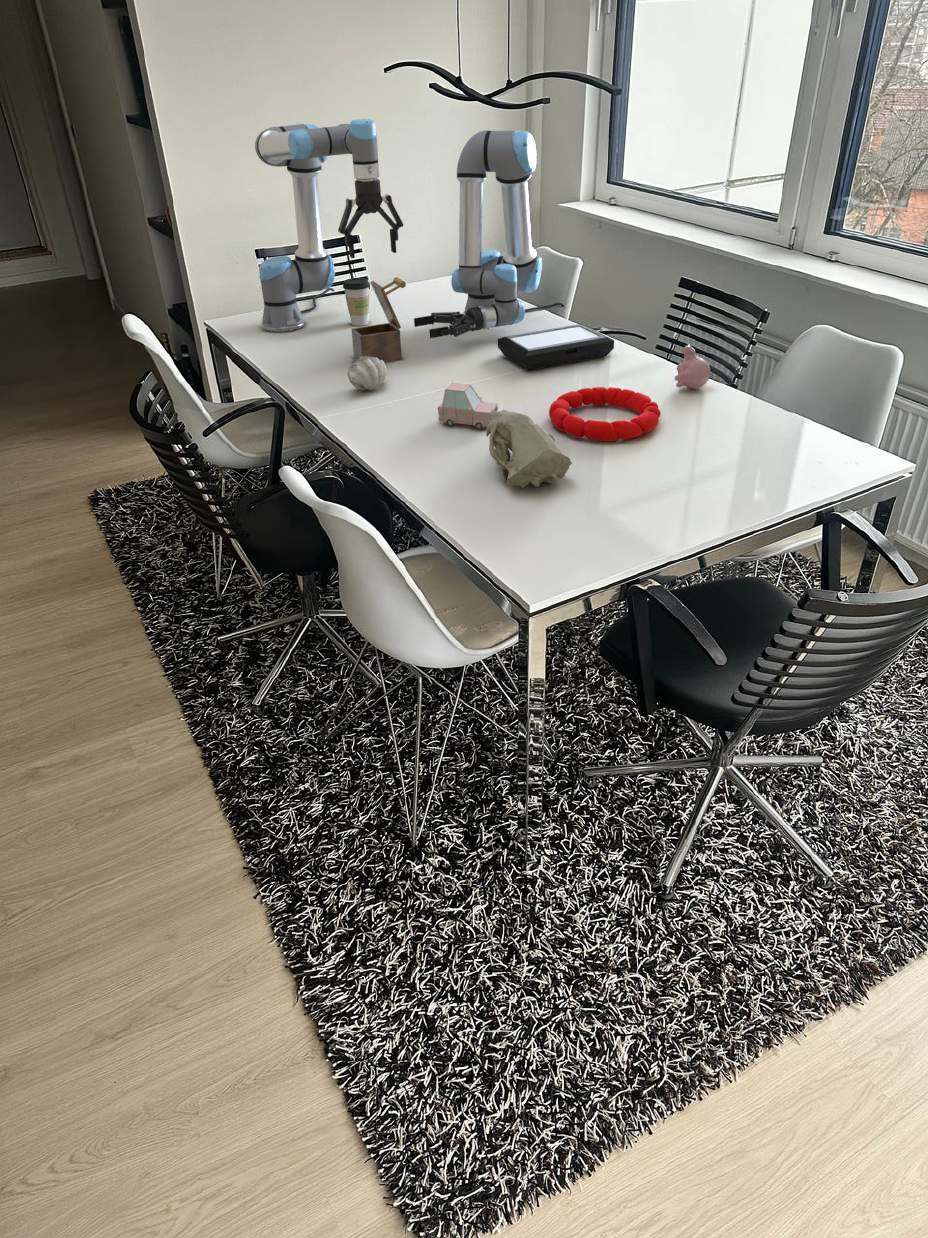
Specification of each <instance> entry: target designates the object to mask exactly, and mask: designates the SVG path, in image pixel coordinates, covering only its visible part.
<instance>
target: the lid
mask: <svg viewBox="0 0 928 1238" xmlns="http://www.w3.org/2000/svg"><path fill="white" fill-rule="evenodd" d="M369 283H370V286H371V287H372V289H373V291H374V293H375V295H376V298H377V300H378V302H379V304H380V306H381V309H382V311H383V313H384V315H385V318H386V320H387V323H391V324H392V325H393V326H395V327H396V328H397V329H399V330H400V329H401V328H402V326H401V323H400V322H399V320H398V317H397V315H396V313H395V311H394V308H393V306H392V304H391V301H390V300H389V298H388V295H389V294H392V293H393V292H395V291H396V290H398V289H400V288H401V289H404V288H406V286H407V283H406V282H405V281H404V280H403V279H401V278H400V277H397V276H396V277H394V278H393V280H392V281H391V282H389V283H388V284H386V285H384V286H381V285H380V284H379V283H378V282H376V281H374V280H372V281H370V282H369ZM393 285H395V286H394V287H393V288H391V289H389V290H387V289H388V288H390V287H392V286H393ZM385 290H387V291H385Z"/></svg>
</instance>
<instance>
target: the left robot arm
mask: <svg viewBox="0 0 928 1238" xmlns="http://www.w3.org/2000/svg"><path fill="white" fill-rule="evenodd" d="M254 149H255V153H256V155H257V157H258V158H259V160H260V161H261V162H263V163H264V164H266V165H268V166H271V167H278V168H280V167H281V168H283V167H286V171H287V172H288V173H289V174H290V175H291V178H292V179H291V180H292V189H293V200H294V201H293V202H294V211H295V212H294V213H295V224H296V235H297V245H298V248H297V249H296V250H295V251H294V259H292V258H291V257H290V256H288V255H281V256H274V257H271V258H268V259H267V258H266V259H265V260H263V261H262V262H261V263H260V265H259V266H258V270H259V271H258V273H259V280H260V287H261V292H262V299H263V313H262V319H261V326H262V330H264V331H265V332H271V333H286V332H293V331H296V330H297V331H298V330H300V329H302V328H304V326H305V319H304V317H303V314H305V313H309V312H311V311H313V310H315V309H316V308H317V304H316V299H317V298H320V297H322V296H324V295H325V294H327V293H328V292H330V291H331V292H335V289H334V288H333V287H332V286H333V284H334V282H335V276H336V267H335V265H334V260H333V258H332V256H331V255H329V254H328V251H327V249H325V248H324V245H323V232H322V219H321V203H320V190H319V177H318V175H319V174H320V173H321V172H322V164H324V163H325V162H326V161H327V159H328V157H331V156H341V155H351V156H352V168H353V169H352V170H353V178H354V179H355V180H354V190H355V192H354V193H355V199H353V198H352V199H351V198H348V197H347V198H346V199H345V208H344V211H343V214H342V217H341V220H340V223H339V227H338V229H337V232H338V233H339V234H341V235H343V236H344V242H345V246H346V247H348V251H349V258H351V259H355V258H356V255H355V245H354V236H353V234H352V232H353V231H354V229H355V227H356V225H357V224H358V222H359V220H360V219H361V217H362V216H363V215H364V214H365V215H369V214H376V213H378V214H379V215H380V216H381V217H382V218H383V220H384V221H386V223H387V224H388V225H389V227H390V229H389V237H390V238H389V239H390V252H391V253H393V254H397V241H399V230H400V228H403V227H404V222H403V221H402V218H401V216H400V215H399V213H398V211H397V209H396V207H395V205H394V203H393V198H392V196H391V195H390V194H387V193H386V194H385V195H382V192H381V191H382V190H381V180H380V179H379V178H380V167H379V166H380V165H379V151H378V150H379V149H378V133H377V127H376V122H375V120H373V119H370V118H358V119H352V120H350V122H349V123H340V124H337V125H334V126H325V127H323V126H322V127H318V126H317V125H316V124H314V123H299V124H290V125H280V126H271V127H268V128H265V129H264V130H262V131H261V132H260V133H258V135H257V136H256V139H255V142H254ZM383 202H384V204H386V206H387V208H388V210H389V212H390V214H391V216H392V217H393V219H394V220H393V219H392V218H391V216H389V215H388V213H387V212H386V211H385V210H384V209H383V207H382V206H381V205H382V204H383ZM355 205H356V206H357V208H356V209H355V211H354V214H353V215H352V217H351V219H350V216H351V213H352V210H353V207H355ZM349 219H350V220H349ZM321 291H322V292H321ZM312 292H313V293H314V292H320V293H318V294H316V295H315V296H314V297H312V307H310V308H306V309H303V310H300V307H299V306H298V305H299V304H298V303H297V295H301V294H307V293H312Z"/></svg>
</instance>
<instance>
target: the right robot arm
mask: <svg viewBox="0 0 928 1238" xmlns="http://www.w3.org/2000/svg"><path fill="white" fill-rule="evenodd" d="M537 154H538V153H537V146H536V142H535V138H534V136H533V134H531V133H530V131H526V130H518V129H515V130H488V129H485V130H481V131H478V132H476V133H475V134H473V135H472V136H471V137H470V138H469V139H468V140H467V142H466V143H465V145H464V146H463V148H462V150H461V152H460V155H459V158H458V160H457V168H456V179H457V181H458V182H459V219H458V220H459V221H458V223H459V225H458V227H459V228H458V229H459V230H458V268H455V269H454V270H453V271H452V274H451V281H450V283H451V289H452V290H453V292H454V293H458V294H465V295H467V300H466V304H465V307H464V311H463V312H462V313H461V312H460V311H447V312H446V311H445V312H431V313H430V315H424V316H419V317H418V316H417V317H414V318H413V324H414V327H415V328H417V327H423V326H428V325H432V326H433V325H435V324H449V325H446V326H441V327H435V328H430V329H428V331H429V332H428V333H429V339H435V338H441V337H447V336H450V337H451V336H453V337H454V338H457V337H459V336H461V335H464V334H466V333H469V332H476V331H477V332H478V331H482V330H490V329H492V328H497V327H498V328H499V327H505V326H512V325H516V324H519V323H521V322H523V320H524V319H525V316H526V315H525V314H526V313H527V312H532V311H536V310H544V309H550V308H554V307H556V306H561V307H564V308H565V307H566V305H565V304H564V303H562V302H558V301H557V302H554V303H552V304H548V305H541V306H535V307H530V308H529V307H528V308H525V305H524V303H523V302H522V301H521V300H520V299H518V293H523V294H524V293H535V292H536V291H537V289H538V287H539V285H540V281H541V277H542V271H543V258H542V257H540V256H537V250H536V249H535V248H534V247H532V234H531V233H532V232H531V219H530V201H529V185H528V181H529V180H530V179H531V177H532V174H533V173H534V172H535V171H536V168H537V157H538V156H537ZM487 173H494V174H495V180H496V181H497V183H499V184H500V186H501V199H502V209H503V210H502V211H503V212H502V213H503V222H504V223H503V224H504V234H505V244H506V250H505V251H504V252H503V254H502V255H501V252H500V251H499V250H496V249H495V250H494V249H490V250H483V251H482V246H483V245H482V242H483V241H482V240H483V207H484V205H483V204H484V203H483V202H484V183H485V181H486V180H487Z"/></svg>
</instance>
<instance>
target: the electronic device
mask: <svg viewBox="0 0 928 1238" xmlns="http://www.w3.org/2000/svg"><path fill="white" fill-rule="evenodd" d="M497 348H498V349H499V351H500V352H501V353H502V355H503V356H504V357H506V359H509V360H510V361H511V362H514V363H516V364H517V365H519V366H520V367H522V368H524V369H525V370H526V371H532V370H538V369H542V368H543V369H544V368H548V367H554V366H555V367H556V366H560V365H567V364H572V363H578V362H582V361H587V360H594V359H600V358H604V357H608V355H609V354H610V353H611V352H612V351H613V350H614V349H615V340H614V339H612V338H611V337H609V336H607V335H605V334H603V333H601V332H599V331H596V330H595V329H593V328H591V327H589V326H587V325H585V324H583V323H578V324H573V325H566V326H561V327H554V328H549V329H542V330H536V331H531V332H525V333H518V334H514V335H508V336H507V335H506V336H503V337H498V338H497Z"/></svg>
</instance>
